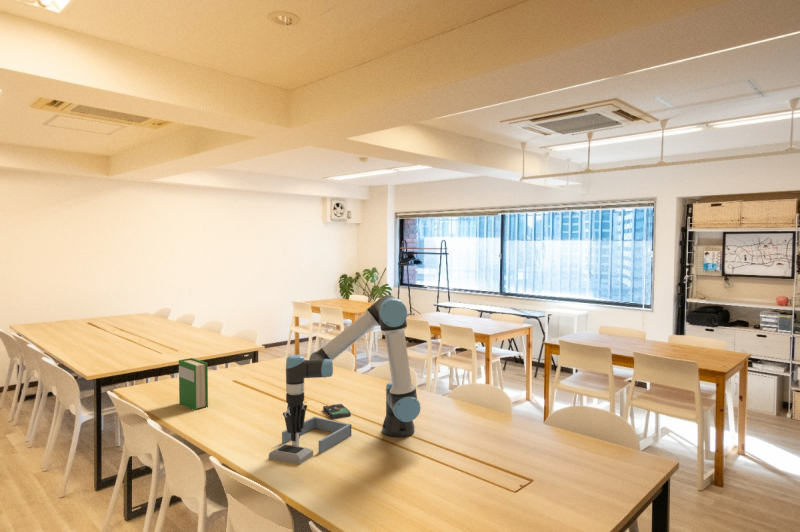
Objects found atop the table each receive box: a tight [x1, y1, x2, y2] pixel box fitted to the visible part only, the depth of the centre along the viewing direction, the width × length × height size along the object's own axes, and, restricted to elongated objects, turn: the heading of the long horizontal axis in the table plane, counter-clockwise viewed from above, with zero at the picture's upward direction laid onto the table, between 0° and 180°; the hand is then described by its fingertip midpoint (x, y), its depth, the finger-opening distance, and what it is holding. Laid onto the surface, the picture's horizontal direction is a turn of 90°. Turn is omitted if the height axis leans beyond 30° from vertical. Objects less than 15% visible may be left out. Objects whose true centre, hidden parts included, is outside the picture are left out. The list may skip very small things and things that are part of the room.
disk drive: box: [322, 403, 352, 420], centre depth 256 cm, size 10×3×15 cm
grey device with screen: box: [268, 443, 314, 466], centre depth 202 cm, size 10×4×15 cm
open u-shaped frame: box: [281, 416, 352, 454], centre depth 221 cm, size 21×22×5 cm
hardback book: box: [178, 357, 209, 411], centre depth 267 cm, size 18×7×24 cm, turn 48°
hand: (295, 447), depth 208 cm, fingers closed
